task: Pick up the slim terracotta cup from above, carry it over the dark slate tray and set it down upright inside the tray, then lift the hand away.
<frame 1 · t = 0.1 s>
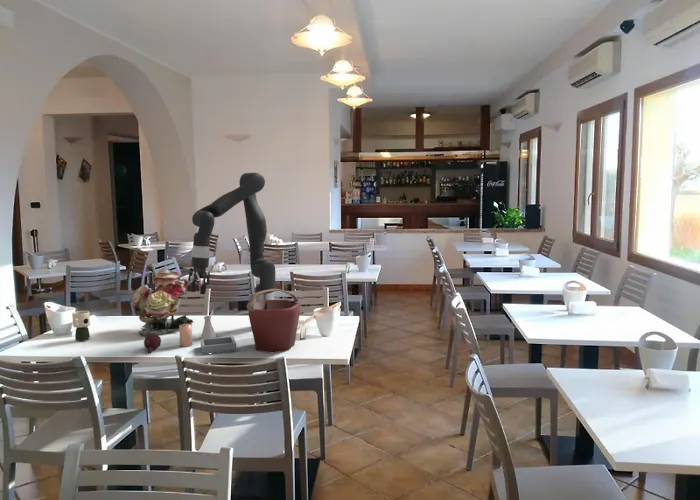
hand: (197, 293, 253), 22 cm above the table, tool pointing down, fingers open, 8 cm apart
icecream: (152, 349, 246), on the table
slate tray: (218, 349, 245), on the table
bucket: (273, 346, 248), on the table
flask: (208, 338, 263), on the table
character mug: (82, 340, 262), on the table
terracotta cup: (186, 345, 251), on the table
rose bouquet: (163, 330, 278), on the table
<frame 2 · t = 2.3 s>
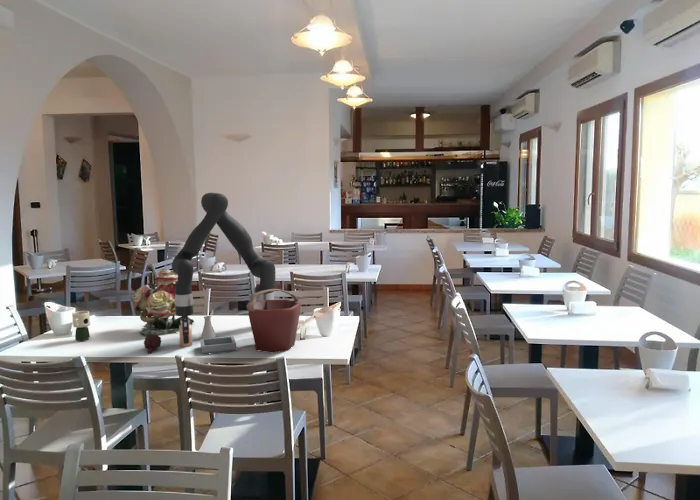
hand: (186, 341, 251), 2 cm above the table, tool pointing down, fingers closed on terracotta cup, 5 cm apart
terracotta cup: (186, 345, 251), on the table, touching gripper
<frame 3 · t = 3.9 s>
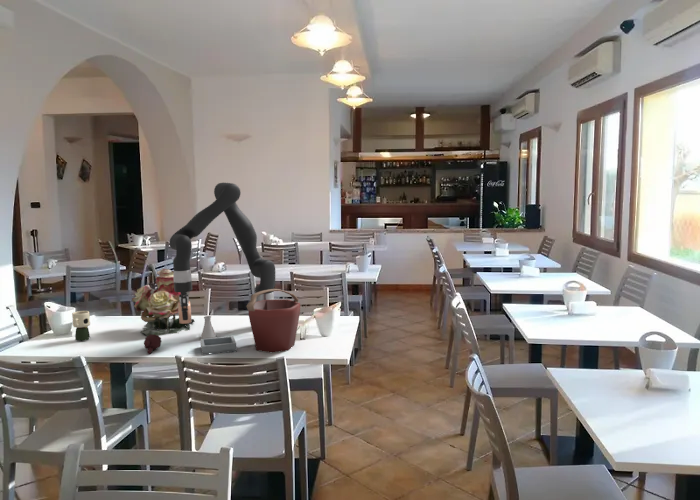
hand: (185, 318, 250), 12 cm above the table, tool pointing down, fingers closed on terracotta cup, 5 cm apart
terracotta cup: (185, 322, 250), point 10 cm above the table, touching gripper
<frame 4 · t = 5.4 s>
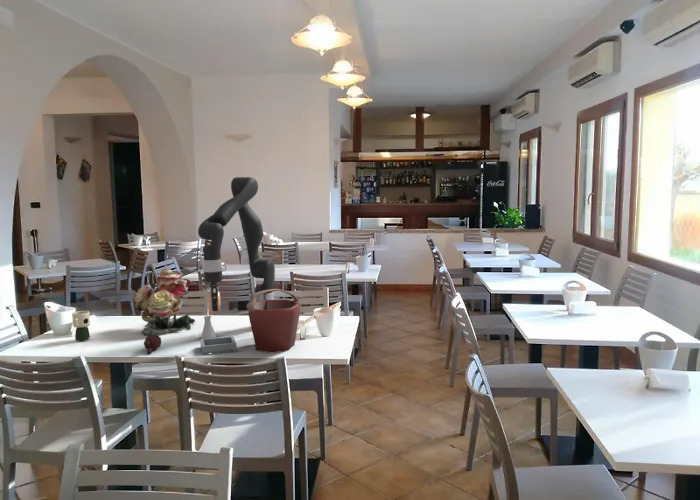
hand: (214, 309, 243), 17 cm above the table, tool pointing down, fingers closed on terracotta cup, 5 cm apart
terracotta cup: (214, 313, 243), point 16 cm above the table, touching gripper
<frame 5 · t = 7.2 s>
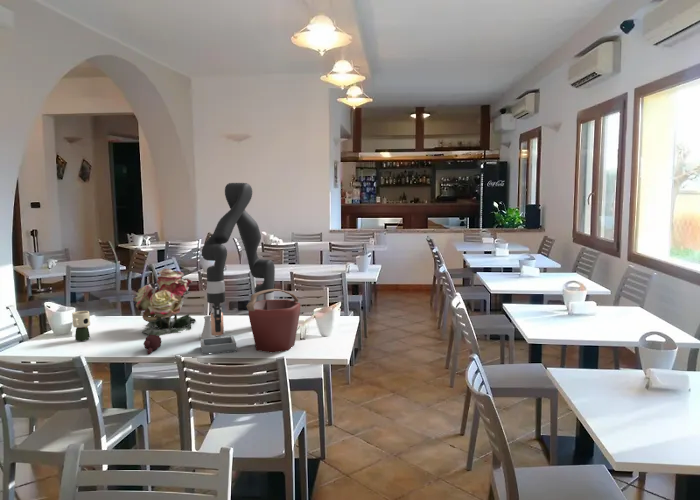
hand: (217, 330, 244), 8 cm above the table, tool pointing down, fingers closed on terracotta cup, 5 cm apart
terracotta cup: (217, 333, 244), point 7 cm above the table, touching gripper
when the fingers open (4 cm above the table, at t = 8.5 s): terracotta cup drops 1 cm, resting on slate tray.
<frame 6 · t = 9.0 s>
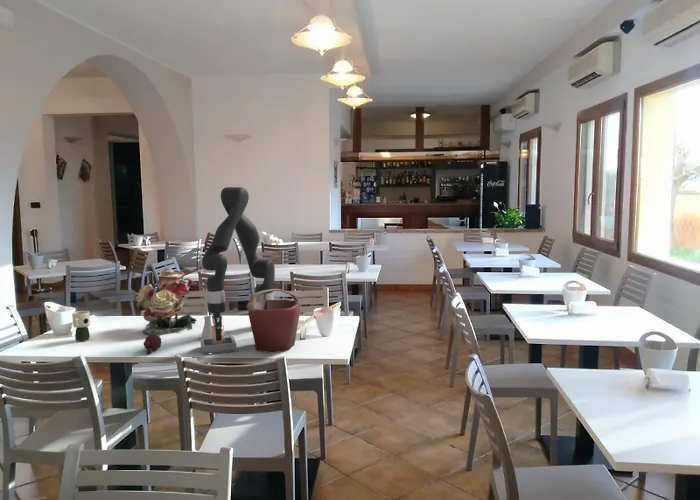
hand: (217, 338, 244), 5 cm above the table, tool pointing down, fingers open, 8 cm apart
terracotta cup: (218, 346, 245), point 1 cm above the table, touching slate tray
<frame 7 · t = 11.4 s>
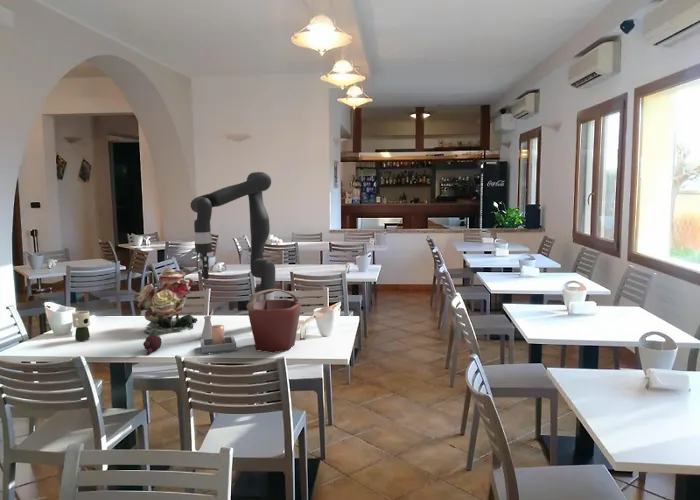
hand: (205, 277, 259), 28 cm above the table, tool pointing down, fingers open, 8 cm apart
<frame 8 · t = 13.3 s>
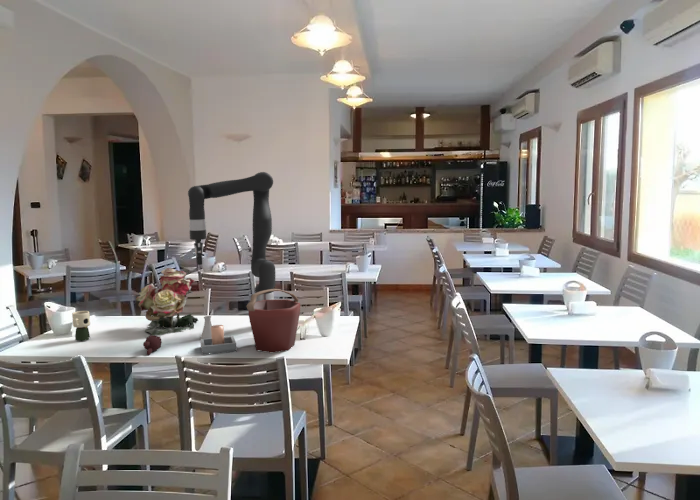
hand: (199, 263, 269), 33 cm above the table, tool pointing down, fingers open, 8 cm apart
at the end: terracotta cup inside the target area on the slate tray (0.1 cm from its centre), point 1.0 cm above the slate tray's base; terracotta cup tilted 1°; the gripper is holding nothing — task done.
